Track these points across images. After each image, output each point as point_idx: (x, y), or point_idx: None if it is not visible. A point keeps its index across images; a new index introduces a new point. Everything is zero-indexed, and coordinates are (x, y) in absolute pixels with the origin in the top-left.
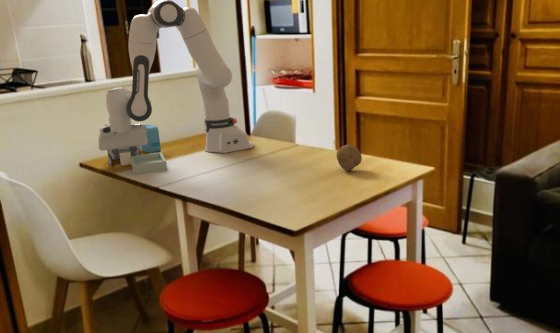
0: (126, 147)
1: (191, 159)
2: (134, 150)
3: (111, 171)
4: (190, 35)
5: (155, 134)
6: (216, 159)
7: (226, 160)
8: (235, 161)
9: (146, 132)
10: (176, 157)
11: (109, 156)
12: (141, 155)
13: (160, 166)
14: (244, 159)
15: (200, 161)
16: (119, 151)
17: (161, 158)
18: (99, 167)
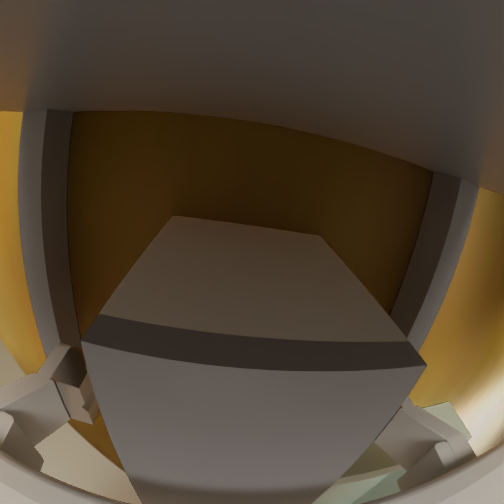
0: (319, 442)
1: (485, 419)
2: (461, 171)
3: (116, 459)
4: None
5: None
6: (495, 431)
7: (490, 442)
8: (485, 450)
9: None
10: (501, 374)
11: (28, 108)
12: (352, 481)
13: None
14: (501, 439)
15: (470, 444)
16: None
17: (393, 491)
18: (9, 340)
